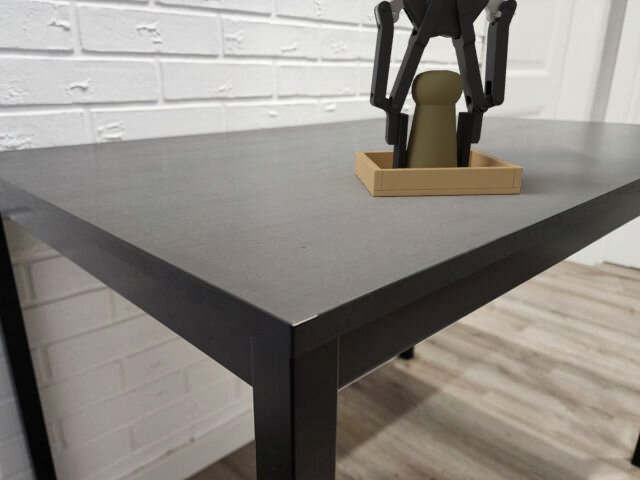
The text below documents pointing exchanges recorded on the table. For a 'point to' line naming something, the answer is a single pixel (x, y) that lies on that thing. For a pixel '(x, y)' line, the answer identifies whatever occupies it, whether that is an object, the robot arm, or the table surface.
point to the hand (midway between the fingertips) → (428, 174)
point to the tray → (437, 176)
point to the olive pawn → (434, 120)
